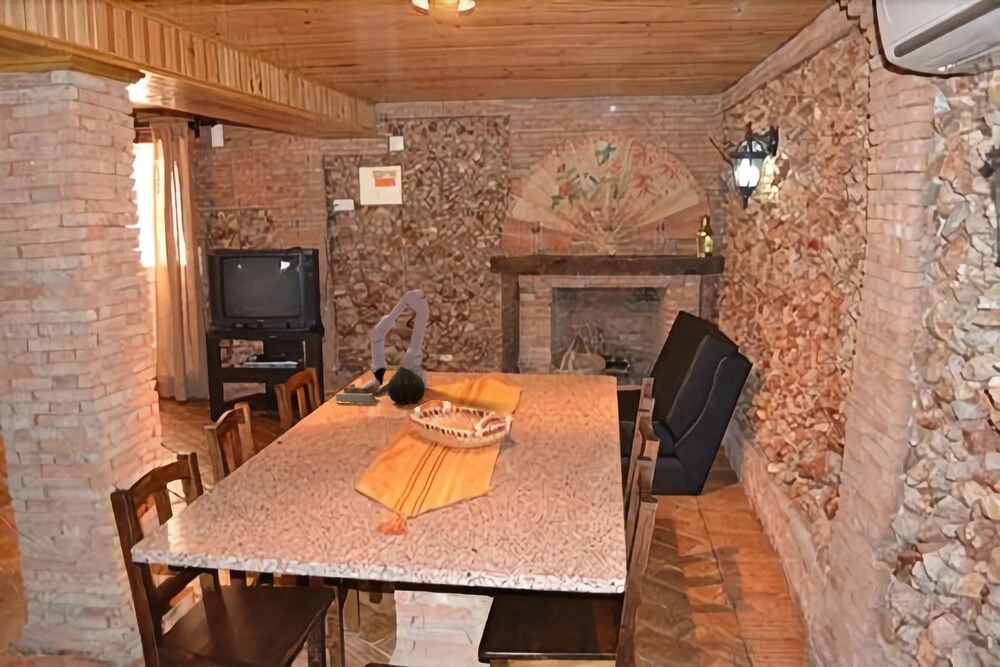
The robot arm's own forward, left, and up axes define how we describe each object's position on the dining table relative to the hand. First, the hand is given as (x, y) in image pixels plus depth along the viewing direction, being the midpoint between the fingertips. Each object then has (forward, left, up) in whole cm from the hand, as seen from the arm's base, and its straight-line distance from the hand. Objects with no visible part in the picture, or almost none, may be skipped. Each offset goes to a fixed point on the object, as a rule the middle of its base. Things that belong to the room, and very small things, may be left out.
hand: (379, 384), depth 343 cm
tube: (+1, +13, -2) cm, 13 cm away
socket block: (0, +24, -1) cm, 24 cm away
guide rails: (0, +3, -1) cm, 4 cm away
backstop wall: (0, +29, -1) cm, 29 cm away
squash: (-21, +25, -2) cm, 33 cm away
